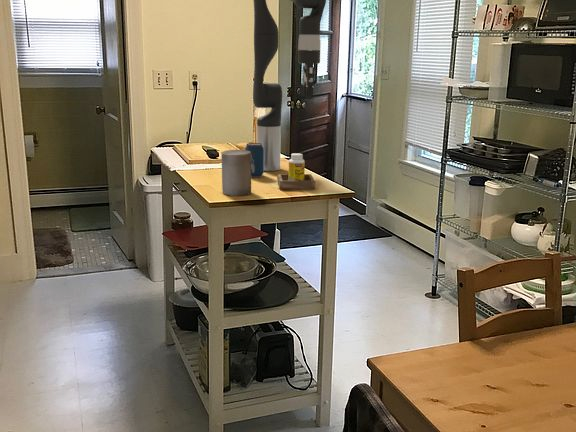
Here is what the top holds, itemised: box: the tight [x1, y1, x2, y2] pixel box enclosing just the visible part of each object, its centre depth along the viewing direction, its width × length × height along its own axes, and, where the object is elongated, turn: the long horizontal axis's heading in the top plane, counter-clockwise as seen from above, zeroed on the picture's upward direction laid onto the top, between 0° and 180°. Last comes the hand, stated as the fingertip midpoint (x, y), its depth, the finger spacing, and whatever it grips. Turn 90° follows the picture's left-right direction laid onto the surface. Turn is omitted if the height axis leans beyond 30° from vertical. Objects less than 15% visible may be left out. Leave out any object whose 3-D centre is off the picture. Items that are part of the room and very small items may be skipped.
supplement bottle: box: [288, 152, 306, 181], centre depth 219 cm, size 6×6×10 cm
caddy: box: [277, 173, 316, 191], centre depth 220 cm, size 12×12×3 cm
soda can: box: [244, 142, 265, 178], centre depth 235 cm, size 7×7×12 cm
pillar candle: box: [220, 147, 252, 197], centre depth 207 cm, size 10×10×15 cm
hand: (308, 97), depth 216 cm, fingers open, 8 cm apart
